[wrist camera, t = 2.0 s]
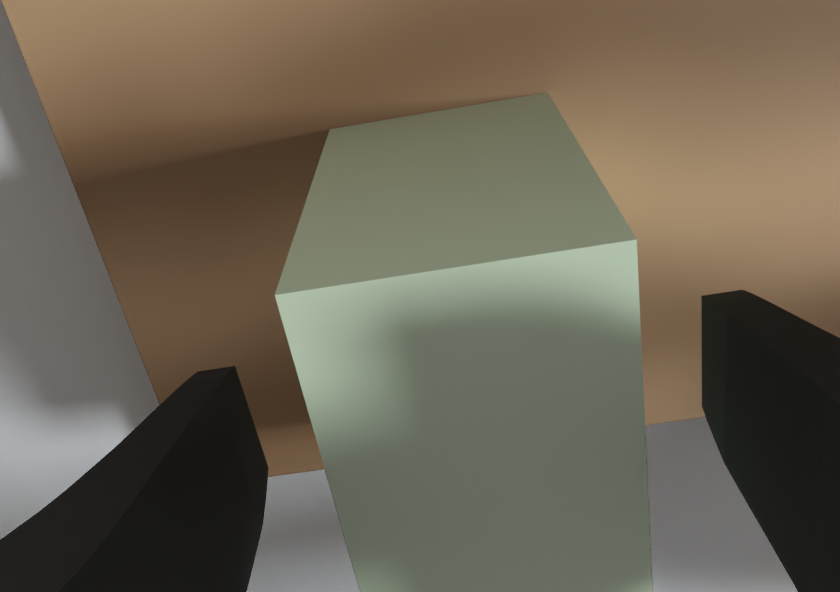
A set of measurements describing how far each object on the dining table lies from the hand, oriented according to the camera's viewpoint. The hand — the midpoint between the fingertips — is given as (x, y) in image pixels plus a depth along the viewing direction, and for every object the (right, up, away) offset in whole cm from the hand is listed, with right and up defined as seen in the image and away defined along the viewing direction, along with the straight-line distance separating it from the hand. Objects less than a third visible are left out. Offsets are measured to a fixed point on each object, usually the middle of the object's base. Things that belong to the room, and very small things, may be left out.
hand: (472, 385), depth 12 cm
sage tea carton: (0, +2, +4) cm, 4 cm away
